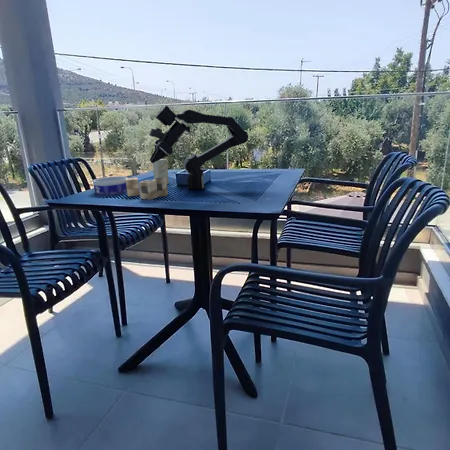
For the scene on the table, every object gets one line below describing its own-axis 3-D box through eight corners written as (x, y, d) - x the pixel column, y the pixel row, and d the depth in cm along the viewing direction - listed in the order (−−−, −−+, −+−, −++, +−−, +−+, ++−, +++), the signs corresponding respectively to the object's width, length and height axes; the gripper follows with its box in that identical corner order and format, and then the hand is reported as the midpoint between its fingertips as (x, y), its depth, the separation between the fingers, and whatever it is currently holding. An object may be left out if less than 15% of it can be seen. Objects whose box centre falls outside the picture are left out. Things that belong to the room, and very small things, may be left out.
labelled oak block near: (157, 196, 150) (156, 179, 148) (150, 199, 145) (148, 182, 143) (148, 196, 152) (146, 179, 150) (140, 198, 147) (138, 181, 145)
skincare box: (160, 185, 174) (157, 160, 171) (154, 184, 177) (151, 160, 173) (169, 183, 179) (167, 158, 175) (163, 182, 182) (161, 158, 178)
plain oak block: (139, 193, 159) (137, 177, 157) (139, 195, 155) (137, 179, 153) (127, 194, 158) (125, 178, 156) (127, 196, 153) (125, 180, 151)
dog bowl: (87, 194, 161) (85, 181, 160) (108, 188, 175) (107, 175, 173) (115, 195, 156) (113, 182, 154) (135, 188, 170) (133, 176, 168)
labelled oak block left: (167, 193, 155) (166, 177, 153) (165, 196, 150) (163, 179, 148) (156, 194, 155) (154, 177, 153) (153, 196, 150) (151, 179, 148)
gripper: (157, 120, 160) (134, 147, 160) (161, 121, 142) (137, 151, 143) (176, 137, 164) (154, 163, 164) (183, 140, 147) (158, 169, 147)
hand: (150, 161), depth 155 cm, fingers open, 6 cm apart
